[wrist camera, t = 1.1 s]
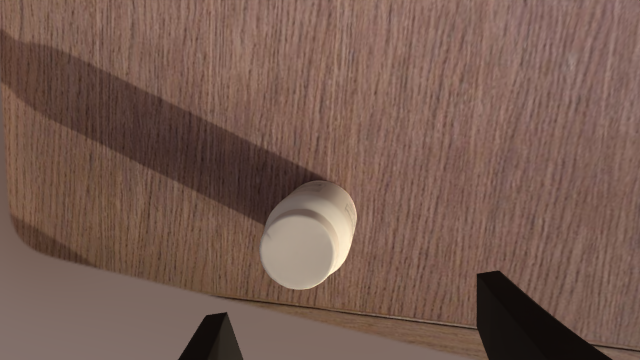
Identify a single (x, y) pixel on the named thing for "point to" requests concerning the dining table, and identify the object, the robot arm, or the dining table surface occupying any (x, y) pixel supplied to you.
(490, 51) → the dining table surface
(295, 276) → the pill bottle
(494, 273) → the robot arm
